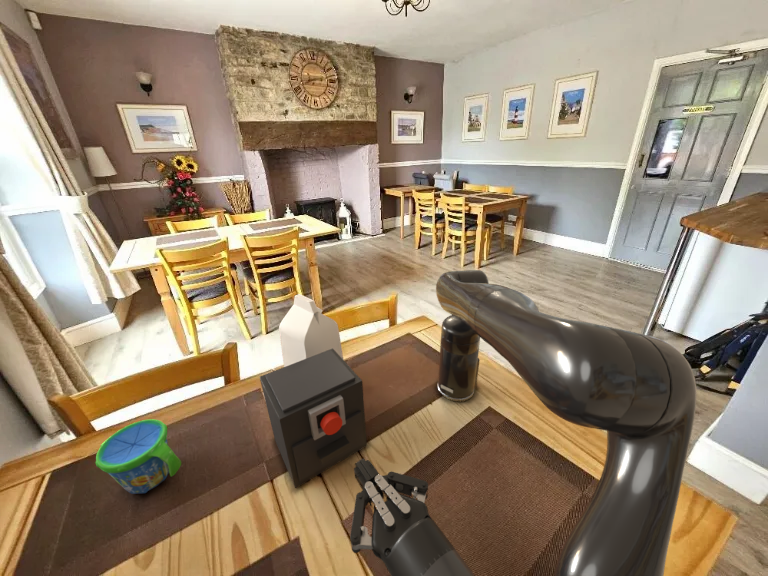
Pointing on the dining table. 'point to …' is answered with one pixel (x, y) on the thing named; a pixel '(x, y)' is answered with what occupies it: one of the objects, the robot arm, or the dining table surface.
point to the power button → (331, 423)
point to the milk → (307, 332)
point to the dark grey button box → (314, 413)
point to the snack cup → (138, 456)
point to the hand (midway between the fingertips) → (359, 464)
